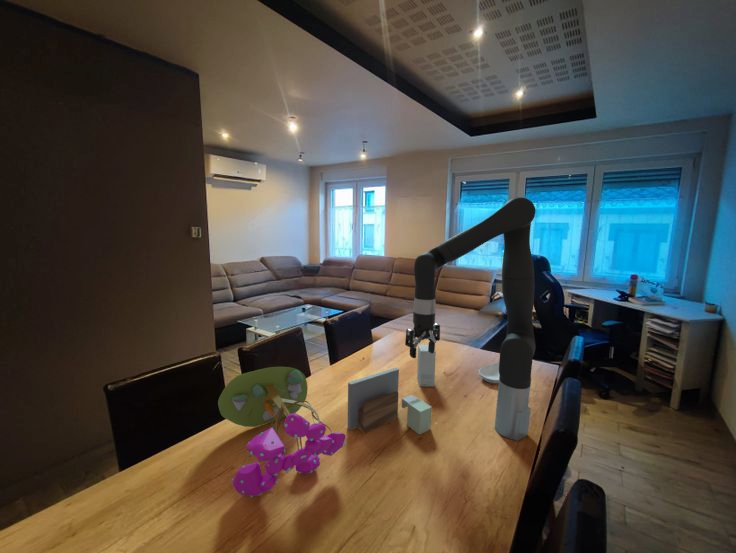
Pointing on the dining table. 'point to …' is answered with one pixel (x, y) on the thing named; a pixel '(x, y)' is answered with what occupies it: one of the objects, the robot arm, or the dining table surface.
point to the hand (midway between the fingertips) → (422, 355)
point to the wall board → (369, 392)
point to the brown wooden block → (378, 412)
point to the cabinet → (417, 414)
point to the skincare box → (426, 366)
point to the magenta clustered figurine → (275, 425)
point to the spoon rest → (490, 373)
